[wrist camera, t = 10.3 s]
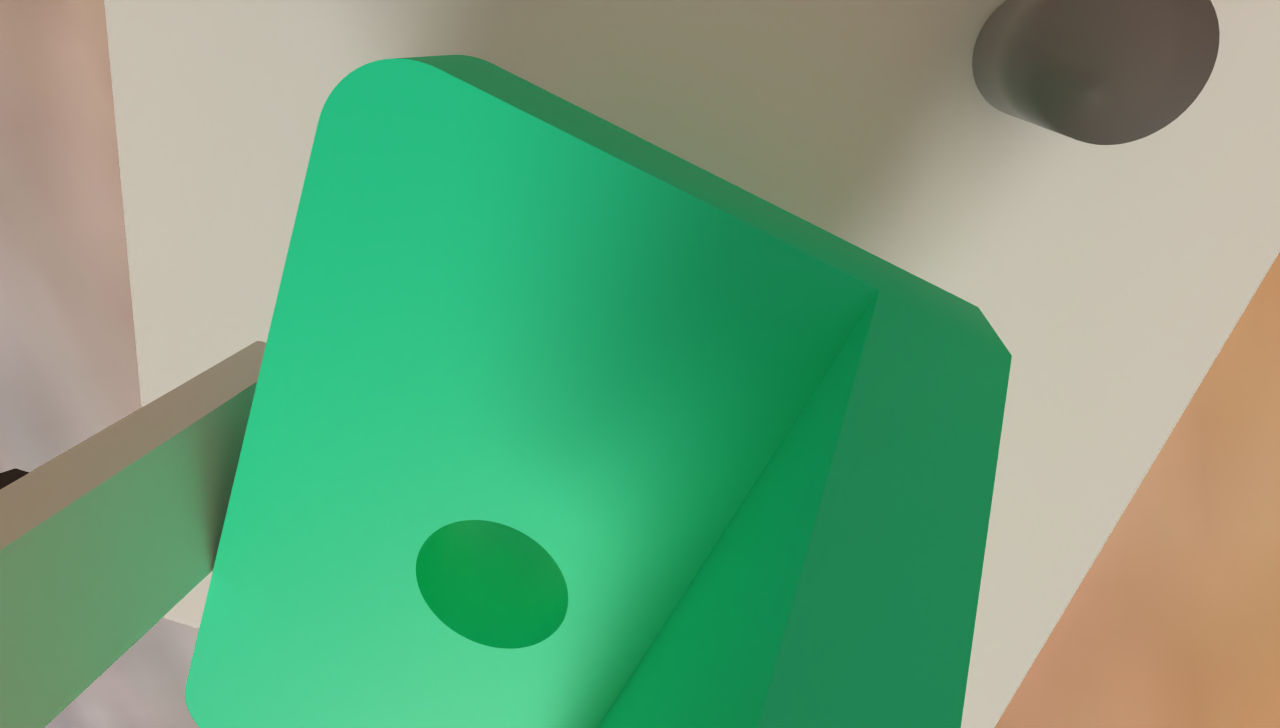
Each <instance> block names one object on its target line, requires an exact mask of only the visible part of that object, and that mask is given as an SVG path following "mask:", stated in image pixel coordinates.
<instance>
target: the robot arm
mask: <svg viewBox="0 0 1280 728" xmlns="http://www.w3.org/2000/svg"><path fill="white" fill-rule="evenodd" d="M265 346H266V343H265V342H262V341H256V342H254V343H252V344H251V345H249V346H247V347H245V348H244V349H242V350H240V351H239V352H237V353H235V354H233V355H232V356H230V357H228V358H227V359H225V360H223V361H221V362H220V363H218V364H216V365H214V366H213V367H211V368H209V369H208V370H206V371H204V372H202V373H201V374H199V375H197V376H195V377H194V378H192V379H190V380H189V381H187V382H185V383H183V384H182V385H180V386H178V387H176V388H175V389H173V390H171V391H170V392H168V393H166V394H164V395H163V396H161V397H159V398H157V399H156V400H154V401H152V402H151V403H149V404H147V405H145V406H144V407H142V408H140V409H139V410H137V411H135V412H133V413H132V414H130V415H128V416H126V417H125V418H123V419H121V420H120V421H118V422H116V423H114V424H113V425H111V426H109V427H107V428H106V429H104V430H102V431H101V432H99V433H97V434H95V435H94V436H92V437H90V438H88V439H87V440H85V441H83V442H82V443H80V444H78V445H76V446H75V447H73V448H71V449H69V450H68V451H66V452H64V453H63V454H61V455H59V456H57V457H56V458H54V459H52V460H51V461H49V462H47V463H45V464H44V465H42V466H40V467H38V468H37V469H35V470H33V471H32V472H30V473H29V472H25V471H22V470H19V469H12V470H9V471H6V472H3V473H0V728H44V727H45V726H47V725H48V724H49V723H50V722H51V721H52V720H53V719H54V718H55V717H56V716H57V715H58V714H59V713H60V712H62V711H63V710H64V709H65V708H66V707H67V706H68V705H69V704H70V703H71V702H72V701H73V700H74V699H75V698H77V697H78V696H79V695H80V694H81V693H82V692H83V691H84V690H85V689H86V688H87V687H88V686H89V685H90V684H92V683H93V682H94V681H95V680H96V679H97V678H98V677H99V676H100V675H101V674H102V673H103V672H104V671H105V670H107V669H108V668H109V667H110V666H111V665H112V664H113V663H114V662H115V661H116V660H117V659H118V658H119V657H120V656H122V655H123V654H124V653H125V652H126V651H127V650H128V649H129V648H130V647H131V646H132V645H133V644H134V643H135V642H137V641H138V640H139V639H140V638H141V637H142V636H143V635H144V634H145V633H146V632H147V631H148V630H149V629H151V628H152V627H153V626H154V625H155V624H156V623H157V622H158V621H159V620H160V619H161V618H162V617H163V616H164V615H166V614H167V613H168V612H169V611H170V610H171V609H172V608H173V607H174V606H175V605H176V604H177V603H178V602H179V601H181V600H182V599H183V598H184V597H185V596H186V595H187V594H188V593H189V592H190V591H191V590H192V589H193V588H194V587H196V586H197V585H198V584H199V583H200V582H201V581H202V580H203V579H204V578H205V577H206V576H207V575H208V574H209V573H211V572H212V571H213V568H214V564H215V559H216V555H217V551H218V547H219V542H220V538H221V534H222V530H223V525H224V521H225V517H226V513H227V508H228V504H229V500H230V495H231V491H232V487H233V483H234V478H235V474H236V470H237V466H238V461H239V457H240V453H241V449H242V444H243V440H244V436H245V431H246V427H247V423H248V419H249V414H250V410H251V406H252V402H253V397H254V393H255V389H256V385H257V380H258V376H259V372H260V368H261V363H262V359H263V355H264V350H265Z"/></svg>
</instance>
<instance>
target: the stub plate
mask: <svg viewBox="0 0 1280 728" xmlns="http://www.w3.org/2000/svg"><path fill="white" fill-rule="evenodd" d="M104 2H105V13H106V24H107V35H108V46H109V56H110V67H111V78H112V89H113V100H114V111H115V122H116V133H117V144H118V155H119V165H120V176H121V187H122V198H123V209H124V220H125V231H126V242H127V253H128V264H129V274H130V285H131V296H132V307H133V318H134V329H135V340H136V351H137V362H138V373H139V383H140V394H141V405H142V407H144V406H145V405H147V404H149V403H151V402H152V401H154V400H156V399H157V398H159V397H161V396H163V395H164V394H166V393H168V392H170V391H171V390H173V389H175V388H176V387H178V386H180V385H182V384H183V383H185V382H187V381H189V380H190V379H192V378H194V377H195V376H197V375H199V374H201V373H202V372H204V371H206V370H208V369H209V368H211V367H213V366H214V365H216V364H218V363H220V362H221V361H223V360H225V359H227V358H228V357H230V356H232V355H233V354H235V353H237V352H239V351H240V350H242V349H244V348H245V347H247V346H249V345H251V344H252V343H254V342H256V341H262V342H265V343H266V342H267V338H268V333H269V329H270V325H271V321H272V316H273V312H274V308H275V304H276V299H277V295H278V291H279V286H280V282H281V278H282V274H283V269H284V265H285V261H286V257H287V252H288V248H289V244H290V240H291V235H292V231H293V227H294V223H295V218H296V214H297V210H298V205H299V201H300V197H301V193H302V188H303V184H304V180H305V176H306V171H307V167H308V163H309V159H310V154H311V150H312V146H313V141H314V137H315V133H316V129H317V124H318V121H319V117H320V114H321V111H322V108H323V106H324V104H325V102H326V100H327V98H328V96H329V95H330V93H331V92H332V90H333V89H334V88H335V86H336V85H337V84H338V83H339V82H340V81H341V80H342V79H343V78H344V77H345V76H347V75H348V74H349V73H350V72H352V71H354V70H355V69H357V68H359V67H361V66H363V65H365V64H367V63H371V62H374V61H377V60H383V59H393V58H408V57H424V56H439V55H467V56H473V57H477V58H480V59H483V60H486V61H488V62H490V63H493V64H495V65H497V66H499V67H500V68H502V69H504V70H506V71H508V72H510V73H512V74H514V75H516V76H518V77H520V78H522V79H524V80H526V81H528V82H530V83H532V84H534V85H536V86H538V87H540V88H542V89H544V90H546V91H548V92H550V93H552V94H554V95H556V96H558V97H560V98H562V99H564V100H566V101H568V102H570V103H572V104H574V105H576V106H578V107H580V108H582V109H584V110H586V111H588V112H590V113H592V114H594V115H596V116H598V117H600V118H602V119H604V120H606V121H608V122H610V123H612V124H614V125H616V126H618V127H620V128H622V129H624V130H626V131H628V132H630V133H632V134H634V135H636V136H638V137H640V138H642V139H644V140H646V141H648V142H650V143H652V144H654V145H656V146H658V147H660V148H662V149H664V150H666V151H668V152H670V153H672V154H674V155H676V156H678V157H680V158H682V159H684V160H686V161H688V162H690V163H692V164H694V165H696V166H698V167H700V168H702V169H704V170H706V171H708V172H710V173H712V174H714V175H716V176H718V177H720V178H722V179H724V180H726V181H728V182H730V183H732V184H734V185H736V186H738V187H740V188H742V189H744V190H746V191H748V192H750V193H752V194H754V195H756V196H758V197H760V198H762V199H764V200H766V201H768V202H770V203H772V204H774V205H776V206H778V207H780V208H782V209H784V210H786V211H788V212H790V213H792V214H794V215H796V216H798V217H800V218H802V219H804V220H806V221H808V222H810V223H812V224H814V225H816V226H818V227H820V228H822V229H824V230H826V231H828V232H830V233H832V234H834V235H836V236H838V237H840V238H842V239H844V240H846V241H848V242H850V243H852V244H854V245H856V246H858V247H860V248H862V249H864V250H866V251H868V252H869V253H871V254H873V255H875V256H877V257H879V258H881V259H883V260H885V261H887V262H889V263H891V264H893V265H895V266H897V267H899V268H901V269H903V270H905V271H907V272H909V273H911V274H913V275H915V276H917V277H919V278H921V279H923V280H925V281H927V282H929V283H931V284H933V285H935V286H937V287H939V288H941V289H943V290H945V291H947V292H949V293H951V294H953V295H955V296H957V297H959V298H961V299H963V300H965V301H967V302H969V303H971V304H973V305H975V306H977V307H979V309H980V310H981V312H982V313H983V314H984V316H985V317H986V319H987V320H988V322H989V323H990V325H991V326H992V328H993V329H994V330H995V332H996V333H997V335H998V336H999V338H1000V339H1001V341H1002V342H1003V344H1004V345H1005V346H1006V348H1007V349H1008V351H1009V352H1010V354H1011V355H1012V359H1011V366H1010V373H1009V381H1008V388H1007V395H1006V402H1005V410H1004V417H1003V424H1002V432H1001V439H1000V446H999V453H998V461H997V468H996V475H995V482H994V490H993V497H992V504H991V511H990V519H989V526H988V533H987V540H986V548H985V555H984V562H983V570H982V577H981V584H980V591H979V599H978V606H977V613H976V620H975V628H974V635H973V642H972V649H971V657H970V664H969V671H968V679H967V686H966V693H965V700H964V708H963V715H962V722H961V728H994V727H995V725H996V724H997V722H998V720H999V719H1000V717H1001V715H1002V714H1003V712H1004V710H1005V709H1006V707H1007V705H1008V704H1009V702H1010V700H1011V699H1012V697H1013V695H1014V694H1015V692H1016V690H1017V689H1018V687H1019V685H1020V684H1021V682H1022V680H1023V679H1024V677H1025V675H1026V674H1027V672H1028V670H1029V669H1030V667H1031V665H1032V664H1033V662H1034V660H1035V659H1036V657H1037V655H1038V654H1039V652H1040V650H1041V649H1042V647H1043V645H1044V644H1045V642H1046V640H1047V639H1048V637H1049V635H1050V634H1051V632H1052V630H1053V629H1054V627H1055V625H1056V624H1057V622H1058V620H1059V619H1060V617H1061V615H1062V614H1063V612H1064V610H1065V609H1066V607H1067V605H1068V604H1069V602H1070V600H1071V599H1072V597H1073V595H1074V594H1075V592H1076V590H1077V589H1078V587H1079V585H1080V584H1081V582H1082V580H1083V579H1084V577H1085V575H1086V574H1087V572H1088V570H1089V569H1090V567H1091V565H1092V564H1093V562H1094V560H1095V559H1096V557H1097V555H1098V554H1099V552H1100V550H1101V549H1102V547H1103V545H1104V544H1105V542H1106V540H1107V539H1108V537H1109V535H1110V534H1111V532H1112V530H1113V529H1114V527H1115V525H1116V524H1117V522H1118V520H1119V519H1120V517H1121V515H1122V514H1123V512H1124V510H1125V509H1126V507H1127V505H1128V504H1129V502H1130V500H1131V499H1132V497H1133V495H1134V494H1135V492H1136V490H1137V489H1138V487H1139V485H1140V484H1141V482H1142V480H1143V479H1144V477H1145V475H1146V474H1147V472H1148V470H1149V469H1150V467H1151V465H1152V464H1153V462H1154V460H1155V459H1156V457H1157V455H1158V454H1159V452H1160V450H1161V449H1162V447H1163V445H1164V444H1165V442H1166V440H1167V439H1168V437H1169V435H1170V434H1171V432H1172V430H1173V429H1174V427H1175V425H1176V424H1177V422H1178V420H1179V419H1180V417H1181V415H1182V414H1183V412H1184V410H1185V409H1186V407H1187V405H1188V404H1189V402H1190V400H1191V399H1192V397H1193V395H1194V394H1195V392H1196V390H1197V389H1198V387H1199V385H1200V384H1201V382H1202V380H1203V379H1204V377H1205V375H1206V374H1207V372H1208V370H1209V369H1210V367H1211V365H1212V364H1213V362H1214V360H1215V359H1216V357H1217V355H1218V354H1219V352H1220V350H1221V349H1222V347H1223V345H1224V344H1225V342H1226V340H1227V339H1228V337H1229V335H1230V334H1231V332H1232V330H1233V329H1234V327H1235V325H1236V324H1237V322H1238V320H1239V319H1240V317H1241V315H1242V314H1243V312H1244V310H1245V309H1246V307H1247V305H1248V304H1249V302H1250V300H1251V299H1252V297H1253V295H1254V294H1255V292H1256V290H1257V289H1258V287H1259V285H1260V284H1261V282H1262V280H1263V279H1264V277H1265V275H1266V274H1267V272H1268V270H1269V269H1270V267H1271V265H1272V264H1273V262H1274V260H1275V259H1276V257H1277V255H1278V254H1279V252H1280V0H104ZM212 572H213V571H212ZM212 572H211V573H209V574H208V575H207V576H206V577H205V578H204V579H203V580H202V581H201V582H200V583H199V584H198V585H197V586H196V587H194V588H193V589H192V590H191V591H190V592H189V593H188V594H187V595H186V596H185V597H184V598H183V599H182V600H181V601H179V602H178V603H177V604H176V605H175V606H174V607H173V608H172V609H171V610H170V611H169V612H168V613H167V614H166V615H164V616H163V618H166V619H169V620H172V621H176V622H179V623H182V624H185V625H189V626H192V627H195V628H198V629H199V628H200V623H201V619H202V615H203V611H204V606H205V602H206V598H207V594H208V589H209V585H210V581H211V577H212Z"/></svg>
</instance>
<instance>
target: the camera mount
mask: <svg viewBox="0 0 1280 728" xmlns="http://www.w3.org/2000/svg"><path fill="white" fill-rule="evenodd" d="M1011 359H1012V355H1011V354H1010V352H1009V351H1008V349H1007V348H1006V346H1005V345H1004V344H1003V342H1002V341H1001V339H1000V338H999V336H998V335H997V333H996V332H995V330H994V329H993V328H992V326H991V325H990V323H989V322H988V320H987V319H986V317H985V316H984V314H983V313H982V312H981V310H980V309H979V307H977V306H975V305H973V304H971V303H969V302H967V301H965V300H963V299H961V298H959V297H957V296H955V295H953V294H951V293H949V292H947V291H945V290H943V289H941V288H939V287H937V286H935V285H933V284H931V283H929V282H927V281H925V280H923V279H921V278H919V277H917V276H915V275H913V274H911V273H909V272H907V271H905V270H903V269H901V268H899V267H897V266H895V265H893V264H891V263H889V262H887V261H885V260H883V259H881V258H879V257H877V256H875V255H873V254H871V253H869V252H868V251H866V250H864V249H862V248H860V247H858V246H856V245H854V244H852V243H850V242H848V241H846V240H844V239H842V238H840V237H838V236H836V235H834V234H832V233H830V232H828V231H826V230H824V229H822V228H820V227H818V226H816V225H814V224H812V223H810V222H808V221H806V220H804V219H802V218H800V217H798V216H796V215H794V214H792V213H790V212H788V211H786V210H784V209H782V208H780V207H778V206H776V205H774V204H772V203H770V202H768V201H766V200H764V199H762V198H760V197H758V196H756V195H754V194H752V193H750V192H748V191H746V190H744V189H742V188H740V187H738V186H736V185H734V184H732V183H730V182H728V181H726V180H724V179H722V178H720V177H718V176H716V175H714V174H712V173H710V172H708V171H706V170H704V169H702V168H700V167H698V166H696V165H694V164H692V163H690V162H688V161H686V160H684V159H682V158H680V157H678V156H676V155H674V154H672V153H670V152H668V151H666V150H664V149H662V148H660V147H658V146H656V145H654V144H652V143H650V142H648V141H646V140H644V139H642V138H640V137H638V136H636V135H634V134H632V133H630V132H628V131H626V130H624V129H622V128H620V127H618V126H616V125H614V124H612V123H610V122H608V121H606V120H604V119H602V118H600V117H598V116H596V115H594V114H592V113H590V112H588V111H586V110H584V109H582V108H580V107H578V106H576V105H574V104H572V103H570V102H568V101H566V100H564V99H562V98H560V97H558V96H556V95H554V94H552V93H550V92H548V91H546V90H544V89H542V88H540V87H538V86H536V85H534V84H532V83H530V82H528V81H526V80H524V79H522V78H520V77H518V76H516V75H514V74H512V73H510V72H508V71H506V70H504V69H502V68H500V67H499V66H497V65H495V64H493V63H490V62H488V61H486V60H483V59H480V58H477V57H473V56H467V55H439V56H424V57H408V58H393V59H383V60H377V61H374V62H371V63H367V64H365V65H363V66H361V67H359V68H357V69H355V70H354V71H352V72H350V73H349V74H348V75H347V76H345V77H344V78H343V79H342V80H341V81H340V82H339V83H338V84H337V85H336V86H335V88H334V89H333V90H332V92H331V93H330V95H329V96H328V98H327V100H326V102H325V104H324V106H323V108H322V111H321V114H320V117H319V121H318V124H317V129H316V133H315V137H314V141H313V146H312V150H311V154H310V159H309V163H308V167H307V171H306V176H305V180H304V184H303V188H302V193H301V197H300V201H299V205H298V210H297V214H296V218H295V223H294V227H293V231H292V235H291V240H290V244H289V248H288V252H287V257H286V261H285V265H284V269H283V274H282V278H281V282H280V286H279V291H278V295H277V299H276V304H275V308H274V312H273V316H272V321H271V325H270V329H269V333H268V338H267V342H266V346H265V350H264V355H263V359H262V363H261V368H260V372H259V376H258V380H257V385H256V389H255V393H254V397H253V402H252V406H251V410H250V414H249V419H248V423H247V427H246V431H245V436H244V440H243V444H242V449H241V453H240V457H239V461H238V466H237V470H236V474H235V478H234V483H233V487H232V491H231V495H230V500H229V504H228V508H227V513H226V517H225V521H224V525H223V530H222V534H221V538H220V542H219V547H218V551H217V555H216V559H215V564H214V568H213V572H212V577H211V581H210V585H209V589H208V594H207V598H206V602H205V606H204V611H203V615H202V619H201V623H200V628H199V632H198V636H197V640H196V645H195V649H194V653H193V658H192V662H191V666H190V670H189V675H188V679H187V683H186V688H185V700H186V704H187V707H188V710H189V712H190V714H191V716H192V718H193V719H194V721H195V722H196V724H197V725H198V726H199V728H961V722H962V715H963V708H964V700H965V693H966V686H967V679H968V671H969V664H970V657H971V649H972V642H973V635H974V628H975V620H976V613H977V606H978V599H979V591H980V584H981V577H982V570H983V562H984V555H985V548H986V540H987V533H988V526H989V519H990V511H991V504H992V497H993V490H994V482H995V475H996V468H997V461H998V453H999V446H1000V439H1001V432H1002V424H1003V417H1004V410H1005V402H1006V395H1007V388H1008V381H1009V373H1010V366H1011Z"/></svg>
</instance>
